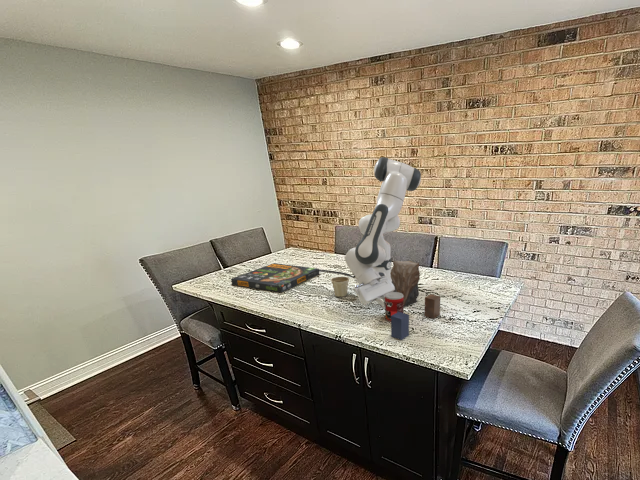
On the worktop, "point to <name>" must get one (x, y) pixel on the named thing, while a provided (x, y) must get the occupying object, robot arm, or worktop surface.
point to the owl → (406, 280)
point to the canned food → (393, 304)
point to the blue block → (399, 325)
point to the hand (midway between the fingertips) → (386, 305)
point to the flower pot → (340, 286)
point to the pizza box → (275, 277)
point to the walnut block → (432, 306)
